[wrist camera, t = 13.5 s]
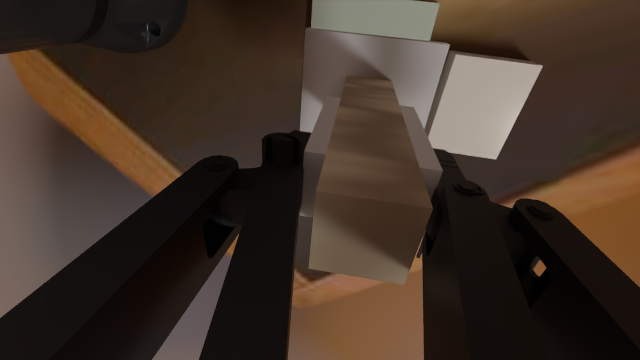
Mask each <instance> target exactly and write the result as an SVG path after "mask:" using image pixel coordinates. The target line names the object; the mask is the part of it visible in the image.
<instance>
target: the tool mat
mask: <svg viewBox="0 0 640 360" xmlns="http://www.w3.org/2000/svg"><path fill="white" fill-rule="evenodd" d="M439 4H440V3H433V2H423V1H413V0H313V1H312V18H311V28H316V29H326V30H335V31H344V32H353V33H362V34H371V35H380V36H389V37H398V38H407V39H416V40H425V41H430V38H431V34H432V30H433V27H434V23H435V19H436V15H437V12H438V8H439Z"/></svg>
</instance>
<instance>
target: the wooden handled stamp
mask: <svg viewBox="0 0 640 360" xmlns="http://www.w3.org/2000/svg"><path fill="white" fill-rule="evenodd" d="M449 46H450V44H448V43H444V42H434V41H425V40H416V39H407V38H398V37H389V36H380V35H371V34H362V33H353V32H344V31H335V30H326V29H316V28H306V29H305V44H304V63H303V83H302V102H301V121H300V131H303V132H311V133H312V131H313V128H314V126H315V124H316V121H317V119H318V116H319V114H320V112H321V109H322V107H323V105H324V102H325V100H326V97H327V96H330V97H338V98H341V99H340V103H339V107H338V111H337V114H336V118H335V122H334V126H333V129H332V133H331V137H330V141H329V144H328V148H327V152H326V156H325V159H324V163H323V167H322V171H321V174H320V178H319V182H318V186H317V189H316V197H315V207H314V218H313V228H312V239H311V249H310V259H309V269H315V270H321V271H327V272H333V273H338V274H344V275H350V276H356V277H362V278H368V279H374V280H380V281H385V282H392V283H397V284H403V285H404V283H405V281H406V278H407V275H408V273H409V270H410V268H411V265H412V262H413V260H414V257H415V254H416V252H417V249H418V247H419V244H420V241H421V239H422V236H423V233H424V231H425V228H426V226H427V223H428V220H429V218H430V215H431V212H432V210H433V207H432V204H431V201H430V198H429V195H428V192H427V188H426V185H425V182H424V179H423V176H422V173H421V170H420V167H419V164H418V161H417V158H416V154H415V151H414V148H413V145H412V142H411V139H410V136H409V133H408V130H407V127H406V124H405V120H404V117H403V114H402V111H401V108H400V105H402V106H410V107H414V108H415V110H416V113H417V115H418V117H419V119H420V121H421V124H422V126H423V128H424V129H425V126H426V122H427V119H428V116H429V112H430V109H431V106H432V102H433V99H434V96H435V93H436V89H437V86H438V83H439V79H440V76H441V73H442V69H443V66H444V63H445V59H446V56H447V53H448V50H449Z"/></svg>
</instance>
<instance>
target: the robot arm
mask: <svg viewBox="0 0 640 360" xmlns="http://www.w3.org/2000/svg"><path fill="white" fill-rule="evenodd" d="M186 8H187V0H0V54H6V53H12V52H19V51H26V50H33V49H39V48H46V47H53V46H60V45H66V44H72V43H81V44H85V45H89V46H94V47H98V48H102V49H106V50H111V51H115V52H120V53H140V52H144V51H149V50H153V49H157V48H159V47H161V46H163V45H165V44H166V43H168V42H169V41H170V40H171V39H172V38H173V37H174V36H175V35H176V33H177V32H178V30H179V29H180V27H181V25H182V22H183V20H184V17H185V13H186ZM340 99H341V98H338V97H330V96H327V97H326V100H325V102H324V105H323V107H322V109H321V112H320V114H319V116H318V119H317V121H316V124H315V126H314V128H313V131H312V133H311V132H303V131H296V130H294V131H292V132H291V133H272V134H268V135H266V136H264V137H263V139H262V161H263V162H262V165H261V167H257V168H246V169H239V167H238V162H237V161H236V160H235V159H234V158H231V157H228V156H222V155H217V156H216V155H215V156H211V157H207V158H204V159H202V160H201V161H199V162H197V163H196V164H195V165H194V166H192V167H191V168H190V169H189V170H187V171H186V172H185V173H184V174H182V175H181V176H180V177H178V178H177V179H176V180H175V181H173V182H172V183H171V184H170V185H168V186H167V187H166V188H165V189H163V190H162V191H161V192H159V193H158V194H157V195H156V196H154V197H153V198H152V199H151V200H149V201H148V202H147V203H146V204H144V205H143V206H142V207H141V208H139V209H138V210H137V211H135V212H134V213H133V214H132V215H130V216H129V217H128V218H127V219H125V220H124V221H123V222H121V223H120V224H119V225H118V226H116V227H115V228H114V229H113V230H111V231H110V232H109V233H108V234H106V235H105V236H104V237H102V238H101V239H100V240H99V241H97V242H96V243H95V244H94V245H92V246H91V247H90V248H89V249H87V250H86V251H85V252H83V253H82V254H81V255H80V256H79V257H77V258H76V259H75V260H73V261H72V262H71V263H70V264H68V265H67V266H66V267H64V268H63V269H62V270H61V271H59V272H58V273H57V274H56V275H54V276H53V277H52V278H51V279H49V280H48V281H47V282H45V283H44V284H43V285H42V286H40V287H39V288H38V289H37V290H35V291H34V292H33V293H32V294H30V295H29V296H28V297H27V298H25V299H24V300H23V301H21V302H20V303H19V304H18V305H16V306H15V307H14V308H13V309H11V310H10V311H9V312H7V313H6V314H5V315H4V316H3V317H1V318H0V360H152V359H153V357H154V356H155V354H156V353H157V351H158V350H159V349H160V347H161V346H162V344H163V343H164V341H165V340H166V338H167V337H168V336H169V334H170V333H171V331H172V330H173V328H174V327H175V325H176V324H177V322H178V321H179V320H180V318H181V317H182V315H183V314H184V312H185V311H186V309H187V308H188V307H189V305H190V304H191V302H192V301H193V299H194V298H195V296H196V295H197V294H198V292H199V291H200V289H201V288H202V286H203V285H204V283H205V282H206V280H207V279H208V277H209V276H210V275H211V273H212V272H213V270H214V269H215V267H216V266H217V265H218V263H219V262H220V260H221V259H222V257H223V256H224V254H225V253H226V252H227V250H228V249H229V247H230V246H231V244H232V243H233V241H234V240H235V238H236V237H237V236H238V234H239V236H238V240H237V243H236V246H235V249H234V252H233V255H232V258H231V261H230V265H229V268H228V271H227V274H226V277H225V280H224V283H223V287H222V290H221V293H220V296H219V299H218V302H217V305H216V309H215V311H214V315H213V318H212V321H211V324H210V327H209V330H208V333H207V336H206V340H205V343H204V346H203V349H202V352H201V355H200V358H199V360H287V359H288V347H289V333H290V321H291V308H292V295H293V282H294V268H295V255H296V242H297V229H298V214H299V210H300V215H301V216H307V217H313V218H314V207H315V197H316V189H317V186H318V182H319V178H320V174H321V171H322V167H323V163H324V159H325V156H326V152H327V148H328V144H329V141H330V137H331V133H332V129H333V126H334V122H335V118H336V114H337V111H338V107H339V103H340ZM400 108H401V111H402V114H403V117H404V120H405V124H406V127H407V130H408V133H409V136H410V139H411V142H412V145H413V148H414V151H415V154H416V158H417V161H418V164H419V167H420V170H421V173H422V176H423V179H424V182H425V185H426V188H427V192H428V195H429V198H430V201H431V204H432V207H433V210H432V212H431V215H430V218H429V220H428V223H427V226H426V233H425V235H424V238H423V241H422V243H421V246H420V248H419V251H418V254H417V258H420V256H421V254H422V262H423V323H424V360H640V287H639V286H638V285H636V284H635V283H634V282H633V281H632V280H631V279H630V278H629V277H628V276H627V275H626V274H625V273H624V272H623V271H622V270H621V269H620V268H619V267H617V265H615V264H614V263H613V262H612V261H611V260H610V259H609V258H608V257H607V256H606V255H605V254H604V253H603V252H602V251H601V250H600V249H599V248H598V247H596V246H595V245H594V244H593V243H592V242H591V241H590V240H589V239H588V238H587V237H586V236H585V235H584V234H583V233H582V232H581V231H580V230H579V229H578V228H576V226H574V225H573V224H572V223H571V222H570V221H569V220H568V219H567V218H566V217H565V216H564V215H563V214H562V213H560V212H559V211H558V210H556V209H555V208H553V207H551V206H550V205H549V204H547V203H545V202H541V201H539V200H533V199H519V200H517V201H516V202H515V204H514V206H513V208H509V207H505V206H502V205H499V204H496V203H493V202H490V200H489V197H488V195H487V193H486V191H485V190H484V189H483V188H482V187H480V186H479V185H477V184H475V183H473V182H471V181H468V180H466V179H465V177H464V175H463V174H462V172H461V170H460V169H459V166H458V165H457V163H456V161H455V159H454V158H453V156H452V155H451V154H449V153H448V152H447V151H446V150H442V149H435V148H432V146H431V143H430V141H429V139H428V137H427V135H426V132H425V130H424V128H423V126H422V124H421V121H420V119H419V117H418V115H417V113H416V110H415V108H414V107H410V106H402V105H400ZM539 260H541V261H542V262H543V263H544V265H545V266H546V270H545V271H544V272H543V273H542V275H541V276H538V275H536V273H535V272H534V271H533V269H534V267H535V266H536V264H537V263H538V262H539Z"/></svg>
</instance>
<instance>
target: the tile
mask: <svg viewBox="0 0 640 360" xmlns="http://www.w3.org/2000/svg"><path fill="white" fill-rule="evenodd" d="M542 67H543V66H542V65H540V64H537V63H534V62H532V61H527V60H519V59H511V58H504V57H496V56H488V55H481V54H473V53H465V52H458V51H450V50H449V54H448V57H447V60H446V63H445V66H444V69H443V72H442V75H441V78H440V82H439V85H438V88H437V91H436V94H435V97H434V100H433V103H432V107H431V110H430V113H429V116H428V119H427V122H426V126H425V129H424V130H425V132H426V135H427V137H428V139H429V141H430V143H431V146H432V148H435V149H442V150H446V151H447V152H451V153H457V154H464V155H470V156H477V157H484V158H490V159H496V158H497V157H498V155H499V153H500V151H501V149H502V147H503V145H504V143H505V141H506V139H507V137H508V135H509V133H510V131H511V129H512V127H513V125H514V123H515V121H516V119H517V117H518V115H519V113H520V111H521V109H522V107H523V105H524V103H525V101H526V99H527V97H528V95H529V93H530V91H531V89H532V87H533V85H534V83H535V81H536V79H537V77H538V75H539V73H540V71H541V69H542Z"/></svg>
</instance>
